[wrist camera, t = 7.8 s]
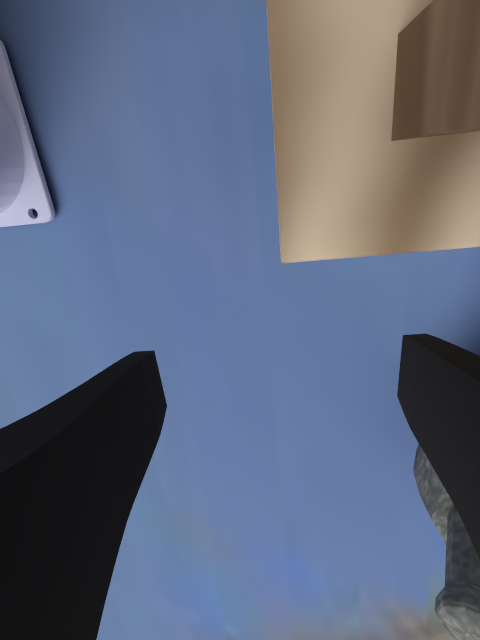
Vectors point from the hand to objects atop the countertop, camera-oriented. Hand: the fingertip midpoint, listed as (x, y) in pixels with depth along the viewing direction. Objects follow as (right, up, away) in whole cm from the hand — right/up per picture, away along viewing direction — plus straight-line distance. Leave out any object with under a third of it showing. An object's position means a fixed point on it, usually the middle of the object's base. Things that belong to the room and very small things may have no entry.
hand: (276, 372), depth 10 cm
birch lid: (+6, +10, +2) cm, 11 cm away
